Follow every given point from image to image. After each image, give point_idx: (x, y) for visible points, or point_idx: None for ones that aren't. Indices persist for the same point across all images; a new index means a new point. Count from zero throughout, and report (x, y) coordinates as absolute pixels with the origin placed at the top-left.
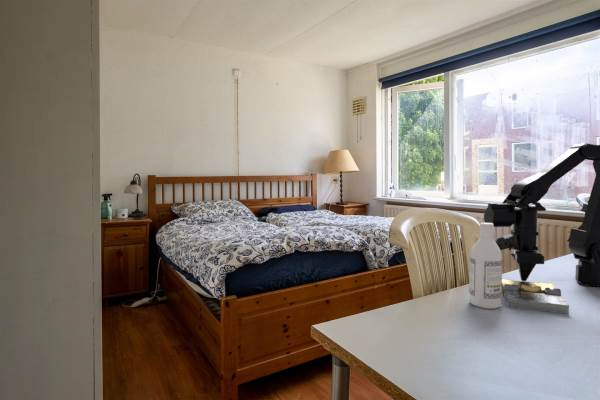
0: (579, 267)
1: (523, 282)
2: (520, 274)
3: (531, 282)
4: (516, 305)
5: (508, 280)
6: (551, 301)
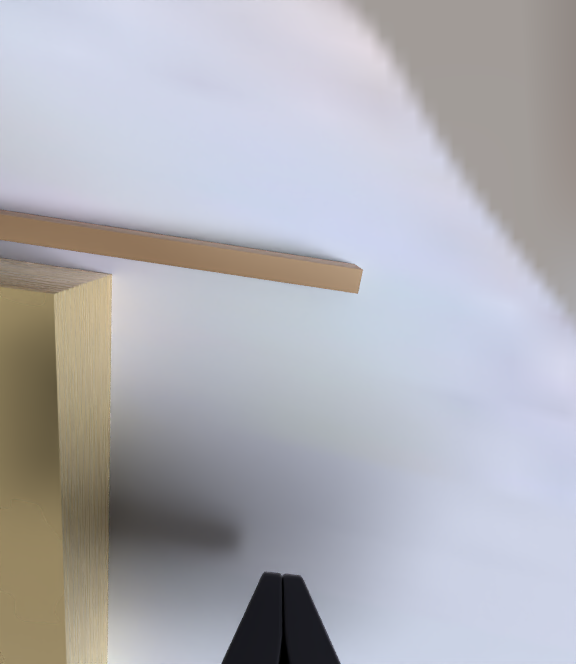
0: None
1: (4, 574)
2: (235, 658)
3: (51, 654)
4: None
5: (32, 404)
6: None
